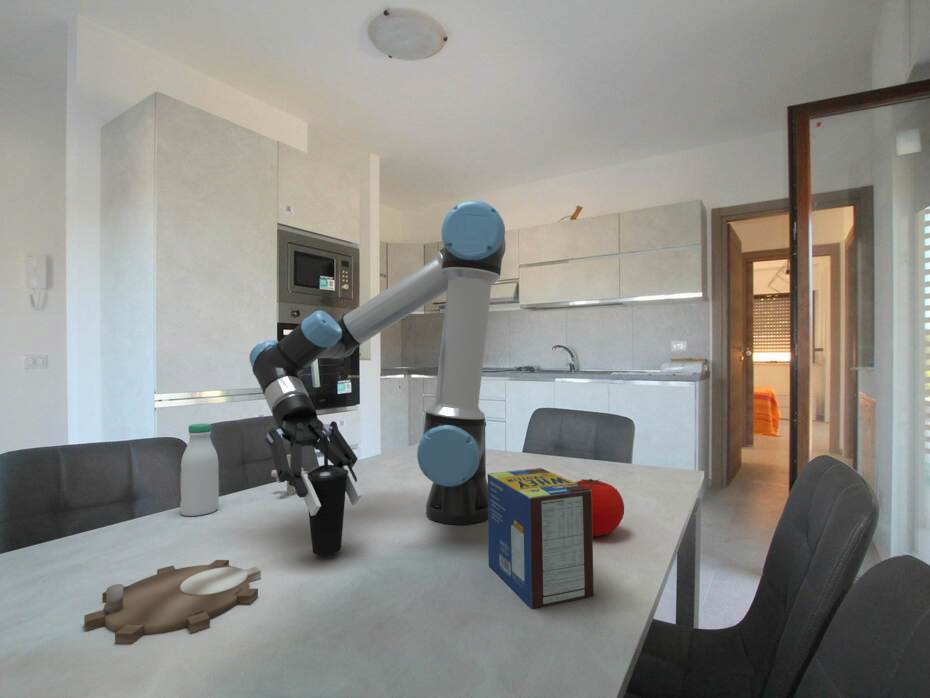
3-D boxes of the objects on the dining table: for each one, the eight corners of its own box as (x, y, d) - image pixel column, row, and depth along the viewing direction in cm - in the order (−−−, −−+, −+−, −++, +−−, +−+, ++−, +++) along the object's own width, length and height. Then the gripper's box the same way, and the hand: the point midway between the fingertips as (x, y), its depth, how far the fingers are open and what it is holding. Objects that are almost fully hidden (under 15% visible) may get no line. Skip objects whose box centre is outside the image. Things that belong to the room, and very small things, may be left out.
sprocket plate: (286, 568, 80) (286, 542, 80) (210, 645, 58) (210, 610, 58) (159, 566, 81) (159, 541, 81) (38, 641, 59) (38, 607, 60)
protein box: (542, 556, 84) (541, 467, 84) (595, 597, 70) (593, 488, 70) (486, 565, 80) (485, 472, 81) (530, 610, 66) (529, 496, 66)
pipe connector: (297, 500, 119) (297, 459, 119) (261, 498, 121) (261, 458, 121) (317, 489, 129) (317, 452, 129) (284, 488, 131) (284, 451, 131)
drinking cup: (325, 562, 80) (323, 441, 80) (294, 553, 84) (293, 437, 84) (358, 546, 86) (357, 434, 87) (328, 539, 90) (327, 431, 91)
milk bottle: (226, 508, 113) (226, 423, 113) (195, 518, 106) (195, 427, 106) (203, 505, 116) (203, 421, 116) (172, 514, 109) (172, 425, 109)
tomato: (573, 519, 103) (572, 470, 104) (629, 528, 98) (628, 476, 98) (554, 537, 93) (553, 482, 93) (616, 548, 87) (615, 490, 87)
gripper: (329, 413, 103) (376, 504, 92) (232, 423, 89) (273, 533, 77) (343, 389, 100) (393, 480, 88) (244, 395, 85) (288, 506, 74)
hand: (337, 505), depth 83 cm, fingers closed on drinking cup, 7 cm apart
